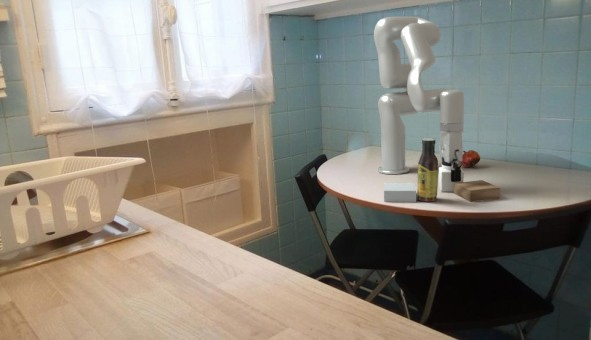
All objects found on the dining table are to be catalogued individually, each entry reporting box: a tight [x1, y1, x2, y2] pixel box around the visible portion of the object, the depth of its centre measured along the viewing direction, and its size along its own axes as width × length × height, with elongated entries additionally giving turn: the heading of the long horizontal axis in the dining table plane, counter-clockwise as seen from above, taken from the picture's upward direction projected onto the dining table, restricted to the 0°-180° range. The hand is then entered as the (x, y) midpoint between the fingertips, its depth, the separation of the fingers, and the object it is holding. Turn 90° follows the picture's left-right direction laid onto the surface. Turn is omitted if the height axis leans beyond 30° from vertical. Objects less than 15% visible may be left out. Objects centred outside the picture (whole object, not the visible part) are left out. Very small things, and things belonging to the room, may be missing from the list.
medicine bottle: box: [438, 157, 465, 193], centre depth 161 cm, size 7×7×12 cm
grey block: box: [383, 182, 417, 203], centre depth 156 cm, size 10×10×4 cm
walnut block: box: [453, 179, 501, 203], centre depth 153 cm, size 10×10×4 cm
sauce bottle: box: [416, 137, 439, 203], centre depth 150 cm, size 7×6×20 cm
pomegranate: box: [462, 149, 481, 170], centre depth 191 cm, size 7×7×10 cm
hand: (451, 178), depth 162 cm, fingers closed on medicine bottle, 8 cm apart
